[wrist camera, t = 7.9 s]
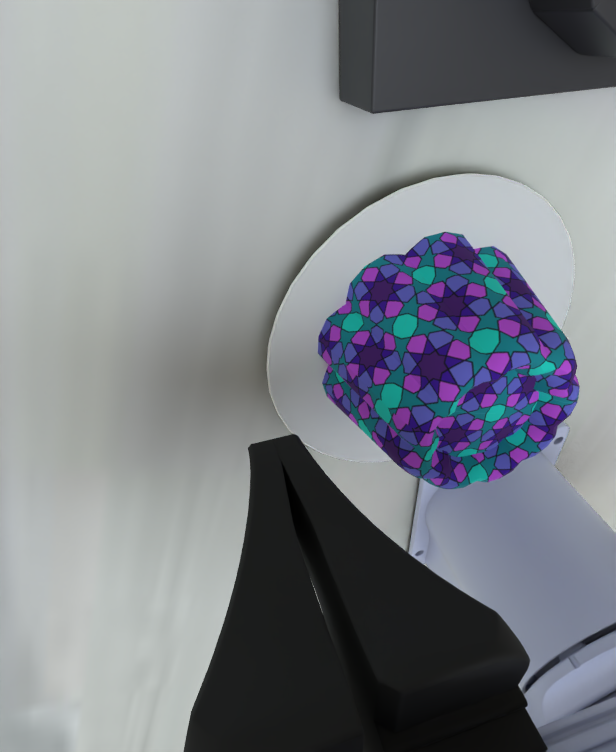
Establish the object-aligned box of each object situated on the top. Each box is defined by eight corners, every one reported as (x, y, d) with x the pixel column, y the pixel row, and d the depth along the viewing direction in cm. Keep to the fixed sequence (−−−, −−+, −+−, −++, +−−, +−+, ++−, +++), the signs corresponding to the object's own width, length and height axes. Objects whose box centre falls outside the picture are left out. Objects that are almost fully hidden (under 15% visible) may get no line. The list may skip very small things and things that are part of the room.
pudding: (298, 132, 12) (376, 188, 8) (620, 196, 16) (777, 253, 12) (241, 457, 19) (268, 576, 15) (480, 443, 23) (552, 533, 19)
